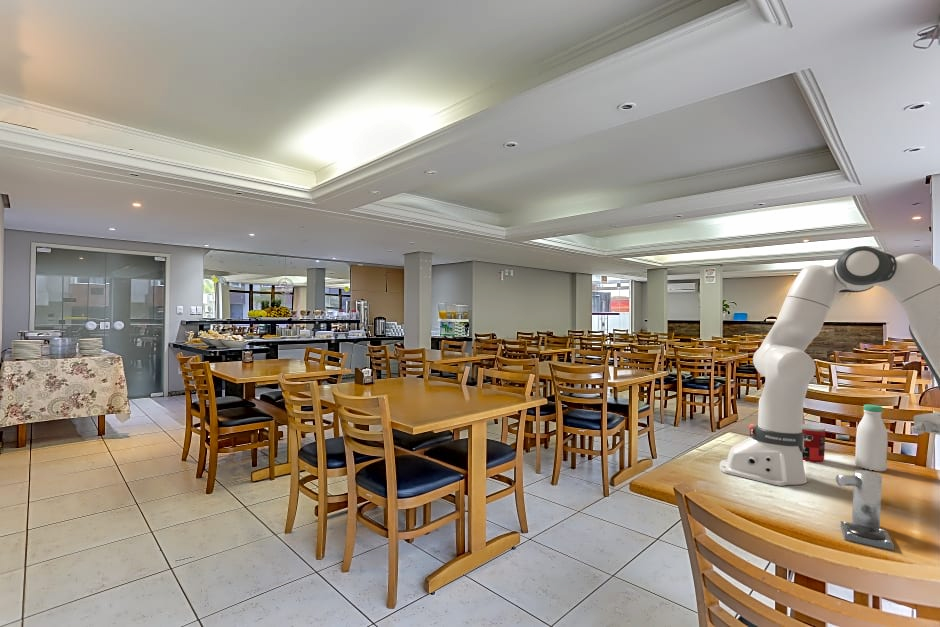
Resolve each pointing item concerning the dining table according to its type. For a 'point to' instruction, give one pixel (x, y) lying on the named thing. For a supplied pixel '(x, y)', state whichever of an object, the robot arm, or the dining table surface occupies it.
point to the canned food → (813, 443)
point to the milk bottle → (871, 440)
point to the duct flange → (866, 535)
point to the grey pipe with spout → (864, 496)
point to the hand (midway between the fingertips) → (933, 434)
